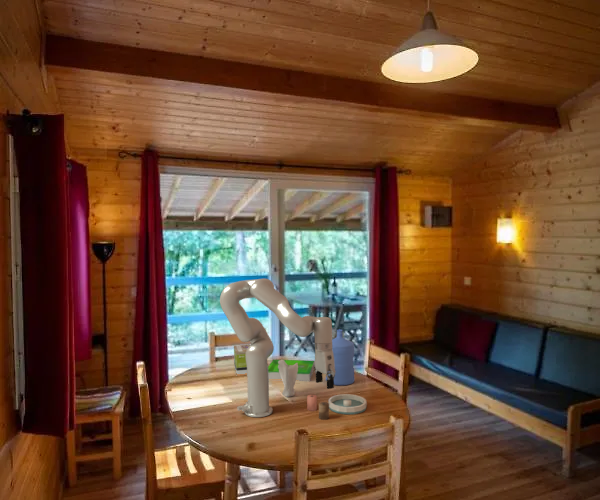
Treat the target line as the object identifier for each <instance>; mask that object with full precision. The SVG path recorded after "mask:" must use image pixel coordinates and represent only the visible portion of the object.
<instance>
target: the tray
mask: <svg viewBox="0 0 600 500" xmlns="http://www.w3.org/2000/svg"><path fill="white" fill-rule="evenodd" d="M279 360H280V359H275V358H274V359H273V360H272V361H271V362H270V363H269V365H268V372H269V379H281V376H280V373H279V368H278V365H279V364H278V361H279ZM283 360H284V361H285V363H286V364H287V365H294V364H295V363H298V372H297V377H296V380H299V381H298V382H310V381H311V379H312V376H313V373H314V371H313V370H315V368H314V367H315V366H314V361H315V360H300V359H298V360H297V359H283ZM288 367H289V366H288Z"/></svg>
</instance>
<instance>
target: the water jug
mask: <svg viewBox="0 0 600 500" xmlns="http://www.w3.org/2000/svg"><path fill="white" fill-rule="evenodd" d="M332 350H333V355H334V363H335V371H336V373H335V377H334V386H348V385H352V384H353V383H354V382H355V367H354V357H355V343H354V342H353V341H351V340H349V339H347V338H345V337H343V329H340V328H339V329H336V337H335V338H332ZM328 375H329V376H330V375H331V374H328ZM327 380H328V379H327V376H326V375H325V382H327Z"/></svg>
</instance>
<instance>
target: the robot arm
mask: <svg viewBox="0 0 600 500" xmlns="http://www.w3.org/2000/svg"><path fill="white" fill-rule="evenodd" d="M274 285H275V284H274V283H273V282H272V280H270V279H269V278H258V279H257V278H256V279H245V280H239V281H235V282H231V283H230V284H228V285H226V286H225V287H224V288H223V290H222V291H221V294H220V296H219V303H220V308H221V309H222V311H223V313H224V314H225V316H226V319H227V320H228V322H229V324H230V326H231V327H232V329H233V332H234V334H236V337H237V339H238V340H239V341H240V342H242V343H249V344H250V346H249V347H248V349H247V351H246V364H247V376H246V379H247V401H246V402H245V404H243V405H238V406H237V407H236V409H237V411H242V412H244V415H246V416H247V417H251V418H262V417H267V416H270V415H271V414H272V413H273V412H274V411H273V407H271V406H270V391H269V390H270V380H269V372H268V366H269V365H268V359H269V358H270V357H271V356H272V355H273V352H274V350H275V349H274V347H275V346H274V343H273V341H272V339H271V337H270V335H269V334H268V332H267V331H266V328H265V327H264V325H263V324H262V322H261V321H260V320H259V319H257V318H255V317H249V315H248V314H247V312H246V310H245V308H244V307H243V306H242V305H241V303H240V301H242V300H245V299H254V298H255V299H256V300H257V301H258V302H260V303H261V304H262V305H264V306H265V307H266V308H267V309H269V310H270V311H271V312H272V313H273V314H274V315H275V316H276V318H277V319H278V320H279V321H280V322H281V324H283V325H284V327H286V328H287V329H288V330H289V331H290V332H292V333H293V334H295V335H296V336H297V337H300V338H306V337H308V336H309V335H310V334H312V333H314V350H315V353H314V360H313V361H314V370H315V371H314V374H315V383H316V384H318V383H322V382H323V379H324V378H323V375H325V377H326V376H327V379H328V380H327V381H326V389H327V390H331V389H334V387H335V385H334V377H335V373H336V371H335V363H334V355H333V350H332V339H333V328H332V326H333V325H332V324H333V323H332V319H331V317H327V316H313V315H312V316H311V315H305V316H302V317H301V316H300V315H299V314H298V313H297V312H295V311H294V309H293V308H292V307H291V306H290V302H289V300H288V298H287V297H286V296H285V295H283V294H282V293H281V292H280V291H278V290H277V289H276V288H275V286H274ZM328 374H331V375H330V376H329V375H328Z"/></svg>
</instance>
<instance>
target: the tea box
mask: <svg viewBox="0 0 600 500" xmlns="http://www.w3.org/2000/svg"><path fill="white" fill-rule="evenodd" d="M250 345H251V343H247V344H239V345H237V344H236V345H233V357H234V358H233V361H234V362H233V363H234V364H233V365H234V366H233V368H234V367H235V368H234V371H235V370H236V372H235V374H236V373H237V374H245V373H247V364H246V351H247V349H248V347H249V346H250Z"/></svg>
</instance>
